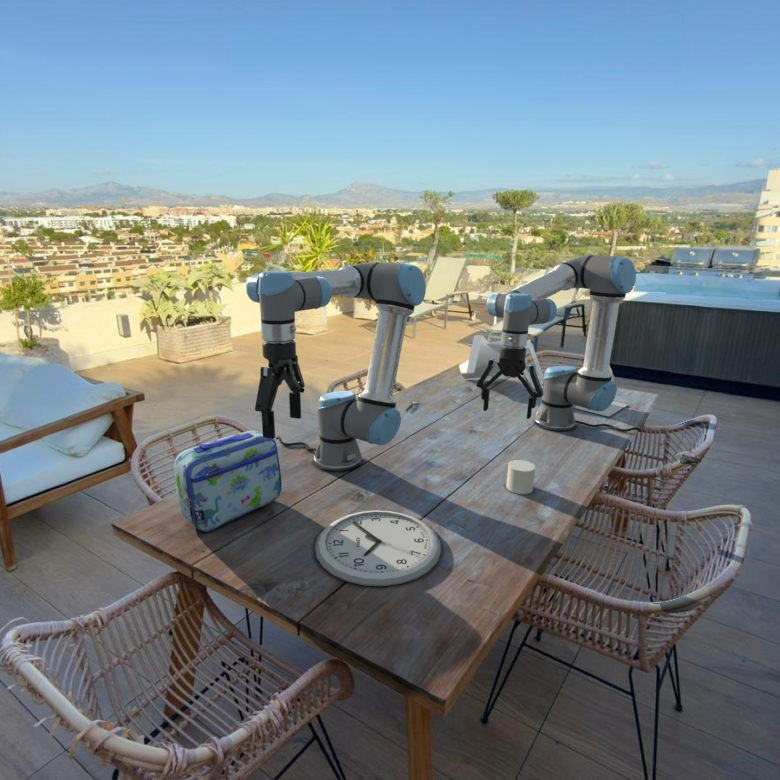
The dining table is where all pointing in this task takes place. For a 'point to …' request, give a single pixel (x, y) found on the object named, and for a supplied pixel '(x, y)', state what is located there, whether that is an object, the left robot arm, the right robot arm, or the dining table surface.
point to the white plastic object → (487, 351)
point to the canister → (520, 476)
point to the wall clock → (378, 548)
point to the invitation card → (609, 411)
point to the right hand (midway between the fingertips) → (506, 413)
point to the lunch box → (227, 478)
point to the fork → (413, 403)
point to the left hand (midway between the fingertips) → (283, 427)
